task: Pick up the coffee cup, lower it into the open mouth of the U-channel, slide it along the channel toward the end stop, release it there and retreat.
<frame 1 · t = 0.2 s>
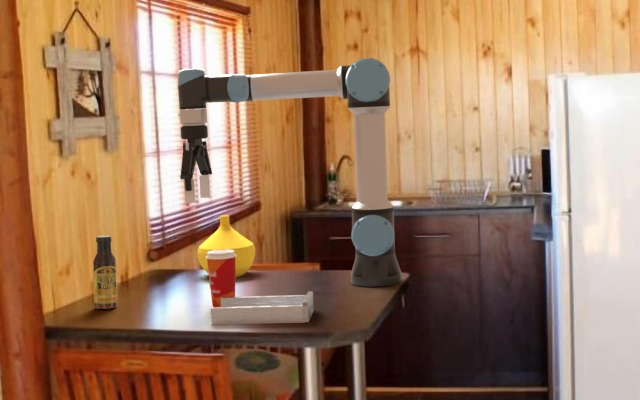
hand: (198, 200, 265), 28 cm above the table, fingers open, 13 cm apart
channel: (263, 317, 237), on the table
vase: (227, 276, 300), on the table
coffee cup: (223, 307, 253), on the table
sauce bottle: (106, 308, 258), on the table
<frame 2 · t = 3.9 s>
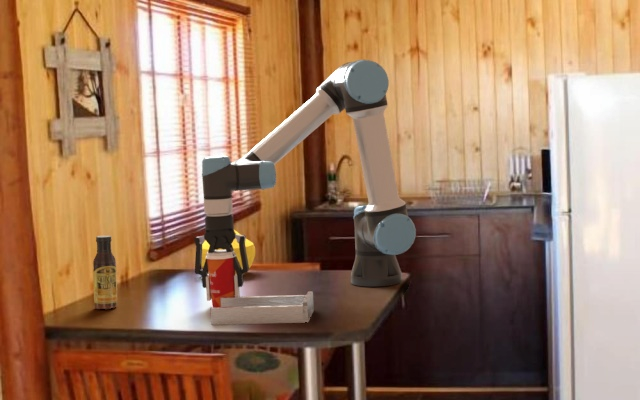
hand: (223, 299, 252), 2 cm above the table, fingers closed on coffee cup, 7 cm apart
coffee cup: (223, 307, 253), on the table, touching gripper
everything else where it was.
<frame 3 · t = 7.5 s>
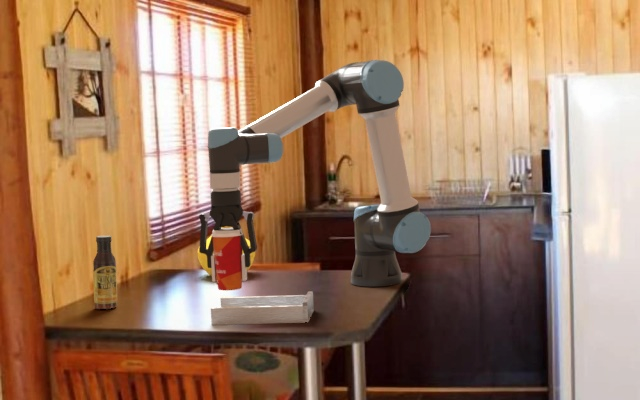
hand: (229, 280, 237), 10 cm above the table, fingers closed on coffee cup, 7 cm apart
coffee cup: (230, 288, 237), point 8 cm above the table, touching gripper
everything else where it was.
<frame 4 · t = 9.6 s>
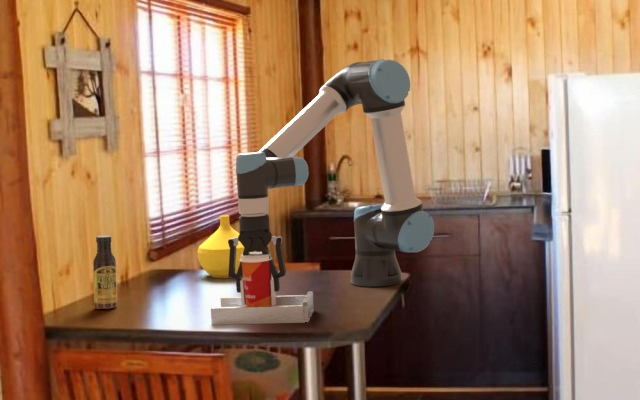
hand: (259, 304, 237), 3 cm above the table, fingers closed on coffee cup, 7 cm apart
coffee cup: (259, 313, 238), point 1 cm above the table, touching gripper
everything else where it was.
when the fingers open (3 cm above the table, at t = 11.3 s): coffee cup stays where it is, resting on channel.
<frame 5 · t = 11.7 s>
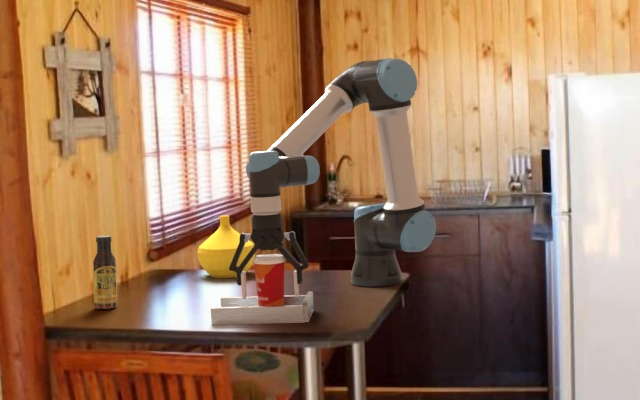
hand: (270, 297, 237), 5 cm above the table, fingers open, 13 cm apart
coffee cup: (271, 315, 237), resting on channel
everything else where it was.
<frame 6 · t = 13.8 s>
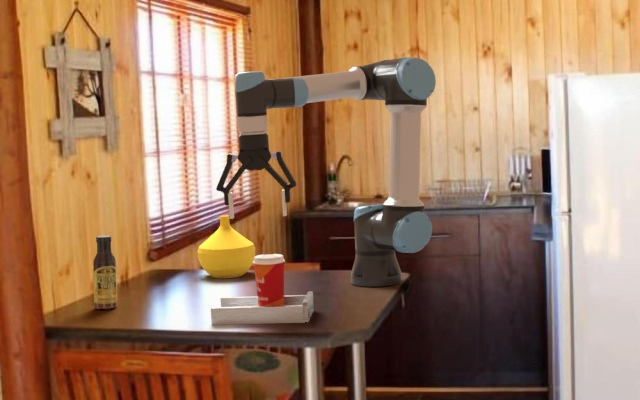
hand: (258, 217, 239), 25 cm above the table, fingers open, 13 cm apart
nothing on the table moved.
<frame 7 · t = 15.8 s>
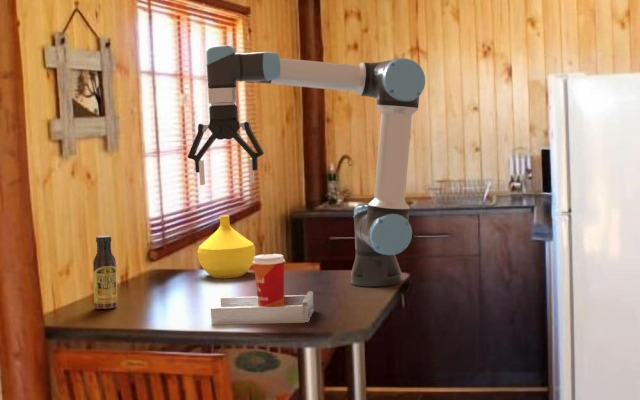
hand: (227, 183, 253), 33 cm above the table, fingers open, 13 cm apart
nothing on the table moved.
at the end: coffee cup inside the target area on the channel (2.0 cm from its centre), point 0.4 cm above the channel's base; coffee cup tilted 0°; the gripper is holding nothing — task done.
